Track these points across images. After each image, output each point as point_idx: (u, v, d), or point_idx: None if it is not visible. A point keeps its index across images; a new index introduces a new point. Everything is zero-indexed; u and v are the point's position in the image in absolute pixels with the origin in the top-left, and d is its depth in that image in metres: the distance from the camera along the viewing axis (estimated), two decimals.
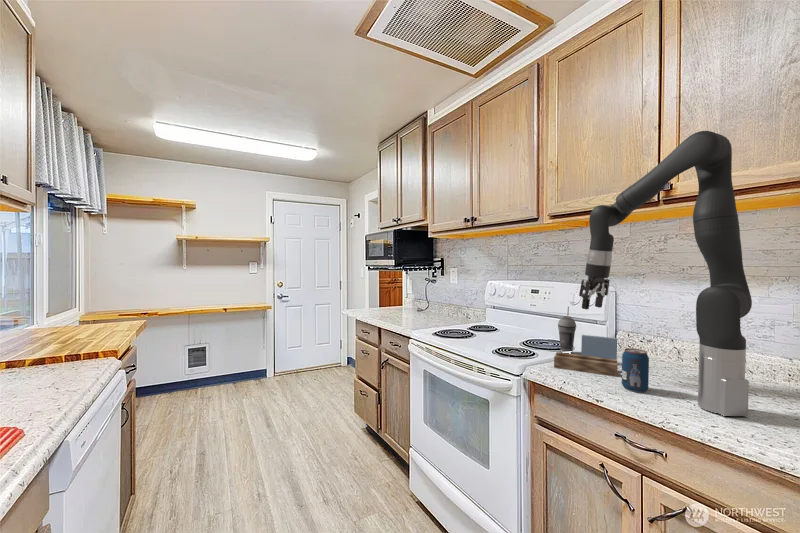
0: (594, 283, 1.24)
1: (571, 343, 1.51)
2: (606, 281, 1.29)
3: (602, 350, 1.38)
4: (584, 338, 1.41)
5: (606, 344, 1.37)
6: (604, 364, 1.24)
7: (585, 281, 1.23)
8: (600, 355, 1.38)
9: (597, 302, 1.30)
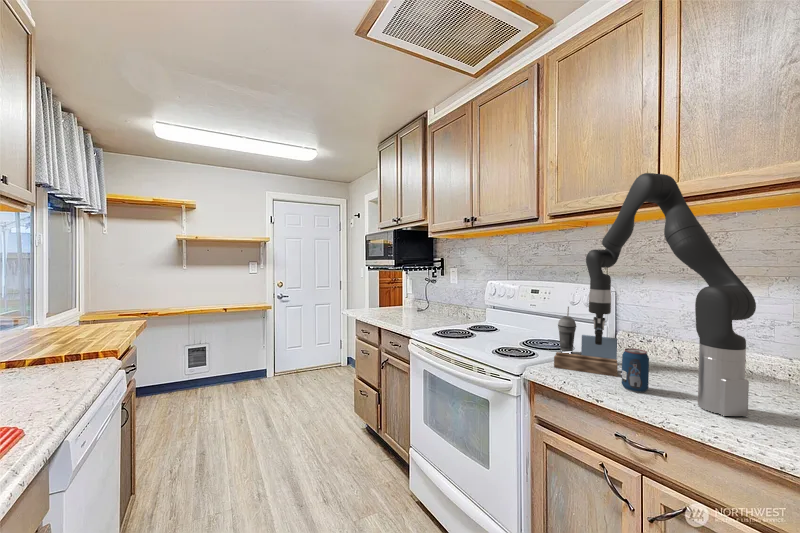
0: (602, 319, 1.36)
1: (571, 343, 1.51)
2: None
3: (602, 350, 1.38)
4: (584, 338, 1.41)
5: (606, 344, 1.37)
6: (604, 364, 1.24)
7: (599, 319, 1.33)
8: (600, 355, 1.38)
9: None
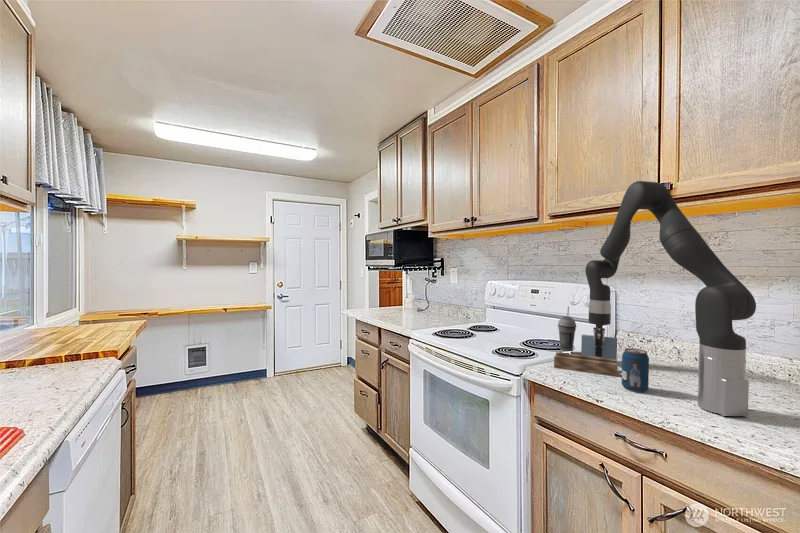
0: (602, 332, 1.36)
1: (571, 343, 1.51)
2: None
3: (602, 350, 1.38)
4: (584, 337, 1.41)
5: (606, 343, 1.37)
6: (604, 364, 1.24)
7: (599, 335, 1.34)
8: None
9: None
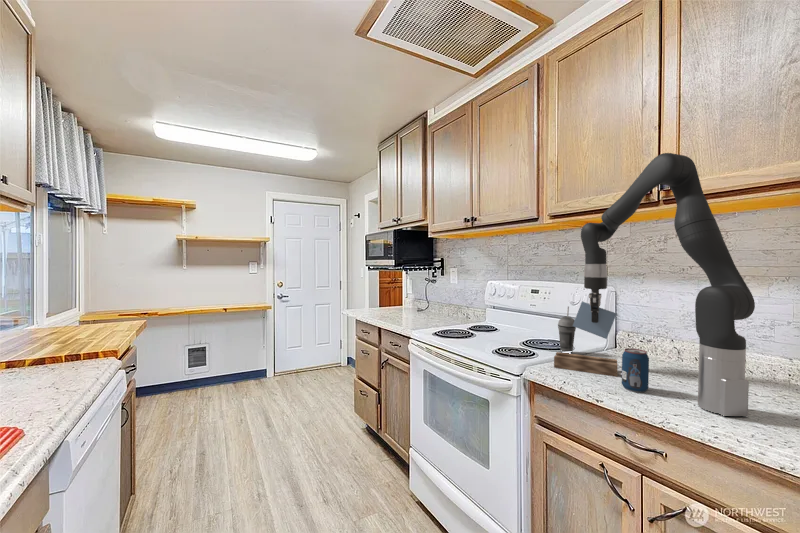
0: (598, 297, 1.32)
1: (571, 343, 1.51)
2: None
3: None
4: (583, 305, 1.36)
5: (604, 316, 1.32)
6: (604, 364, 1.24)
7: (594, 299, 1.29)
8: (593, 325, 1.34)
9: None
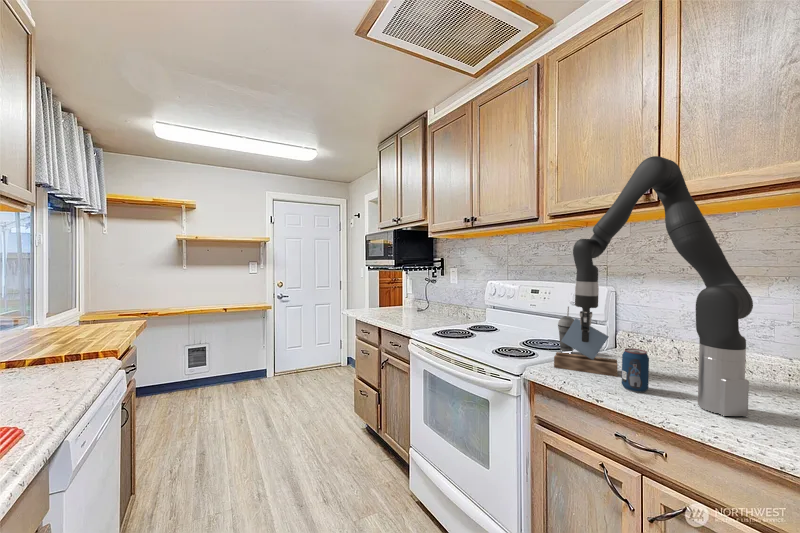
0: (589, 316, 1.27)
1: None
2: None
3: None
4: (576, 322, 1.31)
5: (595, 337, 1.28)
6: (604, 364, 1.24)
7: (585, 319, 1.25)
8: (582, 344, 1.30)
9: None
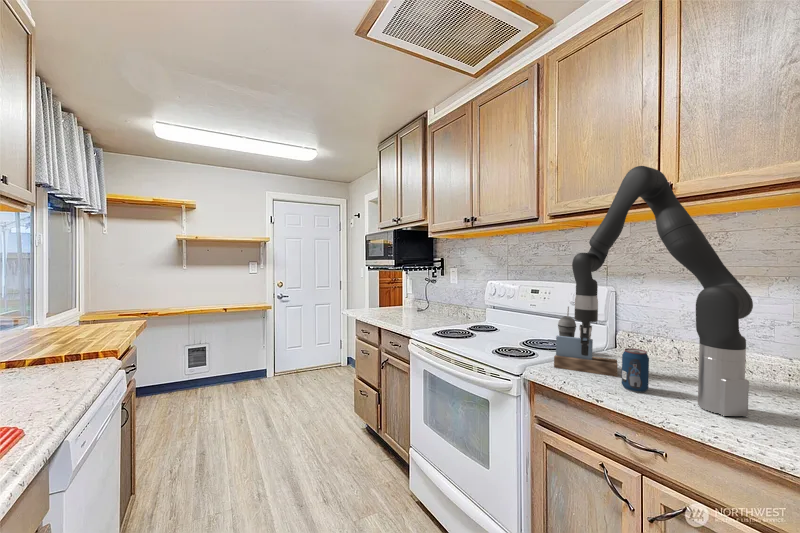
0: (588, 328, 1.27)
1: None
2: None
3: (577, 352, 1.31)
4: (559, 339, 1.34)
5: None
6: (604, 364, 1.24)
7: (585, 329, 1.24)
8: (575, 357, 1.31)
9: None
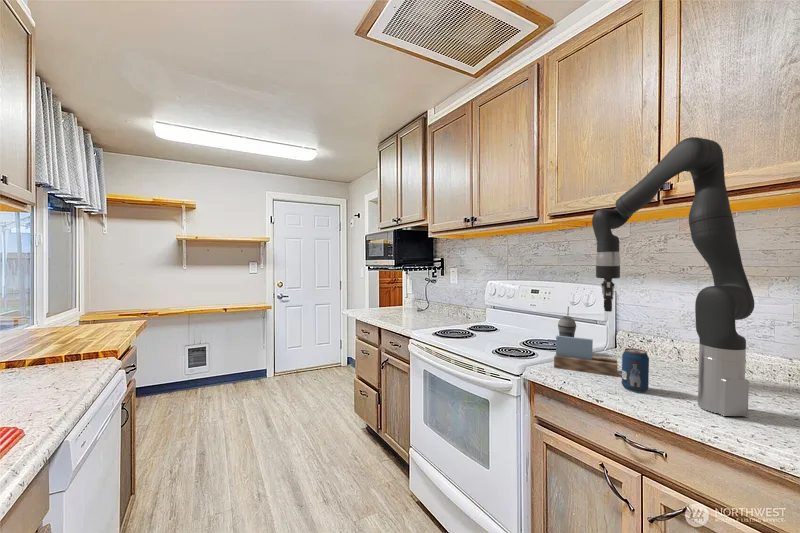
0: None
1: None
2: None
3: (577, 352, 1.31)
4: (559, 339, 1.34)
5: (581, 345, 1.30)
6: (604, 364, 1.24)
7: (608, 283, 1.22)
8: (575, 357, 1.31)
9: None
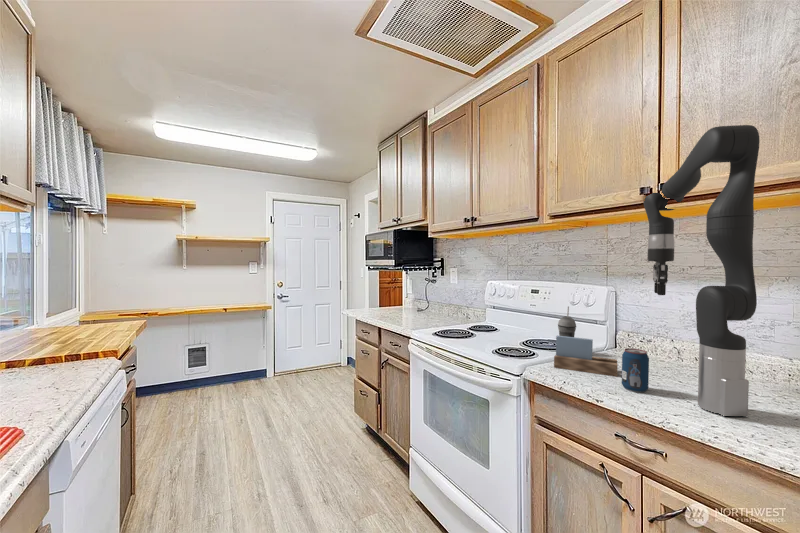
0: None
1: None
2: None
3: (577, 352, 1.31)
4: (559, 339, 1.34)
5: (581, 345, 1.30)
6: (604, 364, 1.24)
7: (663, 265, 1.19)
8: (575, 357, 1.31)
9: (657, 288, 1.28)
